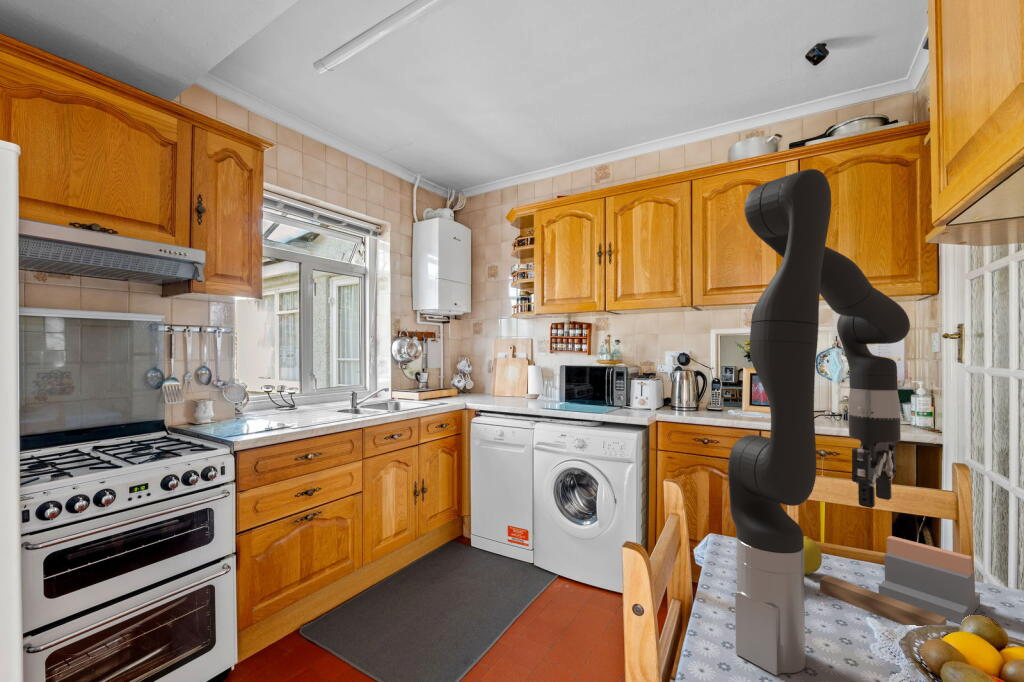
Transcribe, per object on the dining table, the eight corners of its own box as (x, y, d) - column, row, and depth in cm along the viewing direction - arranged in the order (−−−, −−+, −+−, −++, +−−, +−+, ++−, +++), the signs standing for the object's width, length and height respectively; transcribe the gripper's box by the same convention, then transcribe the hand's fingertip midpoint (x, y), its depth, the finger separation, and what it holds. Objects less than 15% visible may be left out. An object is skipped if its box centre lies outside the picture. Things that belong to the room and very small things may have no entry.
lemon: (828, 580, 96) (827, 541, 96) (801, 580, 96) (800, 541, 96) (811, 568, 101) (810, 531, 102) (785, 568, 101) (785, 531, 102)
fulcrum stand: (963, 625, 80) (961, 566, 80) (878, 595, 90) (877, 543, 90) (980, 604, 87) (978, 550, 87) (899, 579, 97) (898, 530, 97)
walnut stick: (946, 635, 77) (946, 617, 78) (940, 641, 76) (940, 623, 76) (827, 590, 93) (826, 574, 93) (819, 594, 91) (819, 578, 91)
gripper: (885, 418, 78) (887, 515, 78) (911, 413, 87) (914, 501, 86) (834, 414, 85) (835, 504, 84) (863, 409, 93) (865, 491, 92)
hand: (875, 502), depth 85 cm, fingers open, 8 cm apart
